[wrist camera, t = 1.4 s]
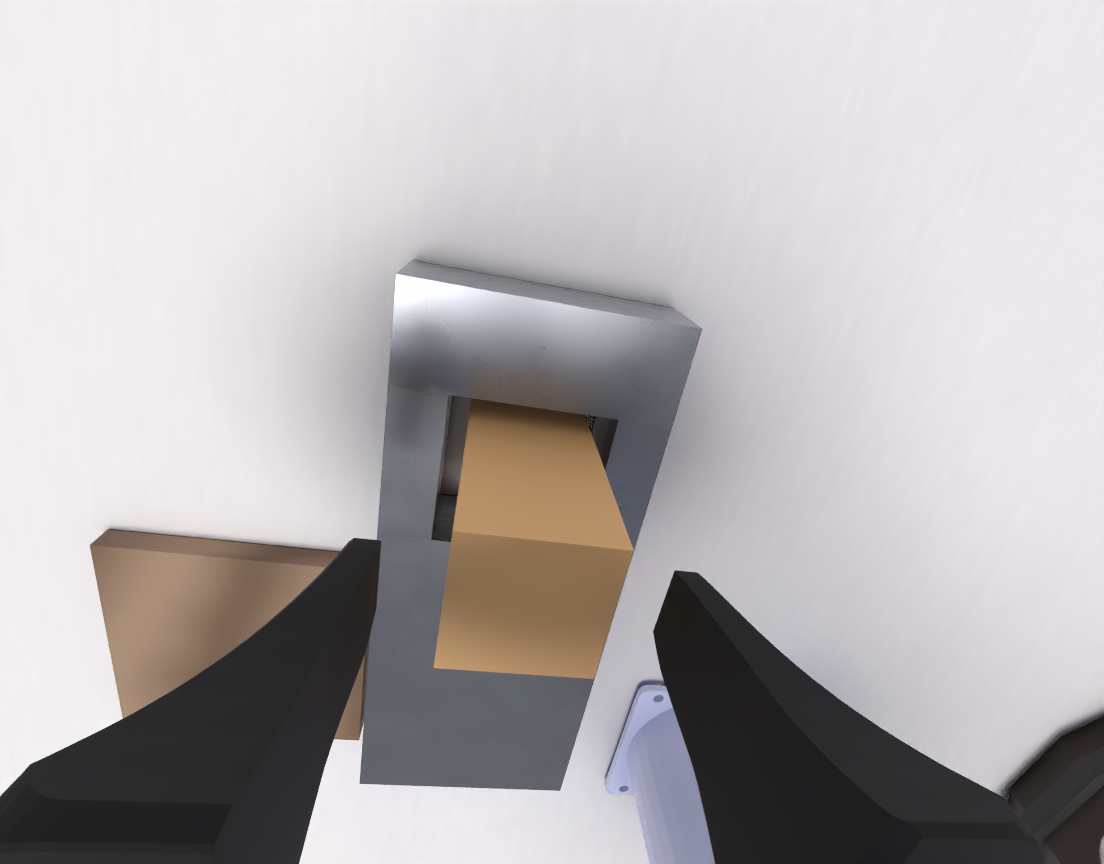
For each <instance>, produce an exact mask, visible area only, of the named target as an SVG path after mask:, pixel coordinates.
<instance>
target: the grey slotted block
mask: <svg viewBox="0 0 1104 864" xmlns="http://www.w3.org/2000/svg"><path fill="white" fill-rule="evenodd" d="M701 331H702V328H700V327H699V326H698V325H696V324H695V323H693V322H692V321H691V320H689V319H688V318H687V317H685V316H684V315H682V314H681V313H680V312H678V311H677V310H675V309H674V308H670V307H665V306H659V305H654V304H649V303H643V302H638V301H632V300H627V299H621V298H616V297H610V296H605V295H599V294H594V293H588V292H583V291H578V290H572V289H567V288H561V287H556V286H550V285H545V284H539V283H534V282H528V281H523V280H518V279H512V278H507V277H501V276H496V275H490V274H485V273H479V272H474V271H468V270H463V269H457V268H452V267H447V266H441V265H436V264H430V263H425V262H419V261H414V260H412V261H411V262H410V263H409V264H408V265H406V266H405V267H404V268H403V269H402V270H400V271H399V272H398V273H397V274H396V281H395V295H394V309H393V323H392V337H391V351H390V365H389V379H388V394H387V408H386V422H385V436H384V450H383V464H382V478H381V492H380V506H379V520H378V534H377V540H379V541H381V554H380V567H379V580H378V594H377V607H376V612H375V617H374V621H373V625H372V629H371V633H370V646H369V660H368V674H367V688H366V702H365V716H364V730H363V744H362V758H361V772H360V784H383V785H412V786H441V787H471V788H500V789H529V790H558V791H560V789H561V786H562V783H563V779H564V776H565V773H566V770H567V766H568V763H569V760H570V757H571V753H572V750H573V747H574V744H575V740H576V737H577V734H578V731H579V727H580V724H581V721H582V718H583V714H584V711H585V708H586V705H587V701H588V698H589V695H590V692H591V688H592V685H593V682H594V679H595V678H594V679H586V678H572V677H557V676H542V675H528V674H513V673H499V672H484V671H469V670H455V669H440V668H434V661H435V654H436V646H437V639H438V632H439V625H440V618H441V610H442V603H443V596H444V589H445V582H446V574H447V567H448V560H449V553H450V546H451V538H452V531H453V524H454V517H455V511H456V504H457V497H458V496H450V495H441V494H440V493H441V485H442V477H443V469H444V461H445V453H446V445H447V436H448V428H449V420H450V412H451V404H452V396H459V397H466V398H473V399H480V400H487V401H494V402H500V403H507V404H514V405H521V406H528V407H535V408H541V409H548V410H555V411H562V412H569V413H575V414H582V415H589V416H596V418H595V422H594V426H593V430H592V436H593V439H594V441H595V444H596V447H597V450H598V453H599V455H600V458H601V461H602V464H603V466H604V469H605V472H606V475H607V478H608V480H609V483H610V486H611V489H612V492H613V494H614V497H615V500H616V503H617V505H618V508H619V511H620V514H621V517H622V519H623V522H624V525H625V528H626V531H627V533H628V536H629V539H630V542H631V544H632V547H633V550H634V549H635V545H636V542H637V539H638V536H639V532H640V529H641V526H642V523H643V519H644V516H645V513H646V510H647V506H648V503H649V500H650V497H651V493H652V490H653V487H654V484H655V480H656V477H657V474H658V471H659V467H660V464H661V461H662V458H663V454H664V451H665V448H666V445H667V441H668V438H669V435H670V432H671V428H672V425H673V422H674V419H675V415H676V412H677V409H678V406H679V402H680V399H681V396H682V393H683V389H684V386H685V383H686V380H687V376H688V373H689V370H690V367H691V363H692V360H693V357H694V354H695V350H696V347H697V344H698V341H699V337H700V334H701ZM633 552H634V551H633ZM632 555H633V554H632ZM630 562H631V561H630ZM629 565H630V564H629ZM628 568H629V567H628ZM626 575H627V574H626ZM625 578H626V577H625ZM624 581H625V580H624ZM622 588H623V587H622ZM621 591H622V590H621ZM620 594H621V593H620ZM618 601H619V600H618ZM617 604H618V603H617ZM616 607H617V606H616ZM614 614H615V613H614ZM613 617H614V616H613ZM612 620H613V619H612ZM610 627H611V626H610ZM609 630H610V629H609ZM608 633H609V632H608ZM606 640H607V639H606ZM605 643H606V642H605ZM604 646H605V645H604ZM602 653H603V652H602ZM601 656H602V655H601ZM600 659H601V658H600ZM598 666H599V665H598ZM597 669H598V668H597ZM596 672H597V671H596Z"/></svg>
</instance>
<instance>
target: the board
mask: <svg viewBox="0 0 1104 864" xmlns="http://www.w3.org/2000/svg"><path fill="white" fill-rule="evenodd" d="M90 548H91V554H92V559H93V564H94V569H95V575H96V580H97V585H98V590H99V595H100V601H101V606H102V611H103V616H104V622H105V627H106V632H107V637H108V643H109V648H110V653H111V658H112V664H113V669H114V674H115V679H116V685H117V690H118V695H119V700H120V706H121V711H122V716H123V718H125V717H127V716H129V715H131V714H133V713H134V712H136V711H138V710H140V709H141V708H143V707H145V706H146V705H148V704H150V703H152V702H153V701H155V700H157V699H159V698H160V697H162V696H164V695H165V694H167V693H169V692H171V691H172V690H174V689H175V688H177V687H179V686H180V685H182V684H183V683H185V682H186V681H188V680H190V679H191V678H193V677H194V676H196V675H197V674H199V673H200V672H202V671H203V670H204V669H206V668H207V667H209V666H210V665H212V664H213V663H215V662H216V661H218V660H219V659H221V658H222V657H223V656H225V655H226V654H228V653H229V652H230V651H232V650H233V649H234V648H236V647H237V646H238V645H240V644H241V643H242V642H244V641H245V640H246V639H248V638H249V637H250V636H251V635H253V634H254V633H255V632H256V631H258V630H259V629H260V628H261V627H263V626H264V625H265V624H266V623H267V622H269V621H270V620H271V619H272V618H273V617H274V616H275V615H277V614H278V613H279V612H280V611H281V610H282V609H283V608H285V607H286V606H287V605H288V604H289V603H290V602H291V601H292V600H294V599H295V598H296V597H297V596H298V595H299V594H300V593H301V592H302V591H303V590H304V589H305V588H306V587H307V586H308V585H309V584H310V583H311V582H312V581H313V580H314V579H315V578H316V577H317V576H318V575H319V574H320V573H321V572H322V571H323V570H324V569H325V568H326V567H327V566H328V565H329V564H330V563H331V562H332V561H333V559H334V558H335V557H336V556H337V555H338V554H339V553H340V552H333V551H322V550H312V549H302V548H292V547H282V546H272V545H261V544H251V543H241V542H231V541H221V540H211V539H200V538H190V537H180V536H170V535H160V534H150V533H140V532H129V531H119V530H109V529H108V530H107V531H106V532H105V533H103V534H102V535H101V536H100V537H99V538H98V539H97V540H95V541H94V542H93V543H92V544H91V545H90ZM369 643H370V637H369V641H368V645H367V649H366V652H365V655H364V658H363V661H362V663H361V666H360V669H359V672H358V674H357V677H356V680H355V683H354V685H353V688H352V691H351V694H350V696H349V699H348V702H347V704H346V707H345V710H344V713H343V715H342V718H341V721H340V723H339V726H338V729H337V732H336V734H335V737H334V739H342V740H359V738H360V734H361V731H362V727H363V723H364V714H365V699H366V685H367V671H368V657H369Z"/></svg>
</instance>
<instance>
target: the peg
mask: <svg viewBox="0 0 1104 864" xmlns="http://www.w3.org/2000/svg"><path fill="white" fill-rule="evenodd" d="M633 551H634V550H633V547H632V544H631V542H630V539H629V536H628V533H627V531H626V528H625V525H624V522H623V519H622V517H621V514H620V511H619V508H618V505H617V503H616V500H615V497H614V494H613V492H612V489H611V486H610V483H609V480H608V478H607V475H606V472H605V469H604V466H603V464H602V461H601V458H600V455H599V453H598V450H597V447H596V444H595V441H594V439H593V436H592V433H591V430H590V427H589V425H588V422H587V419H586V416H585V415H582V414H575V413H569V412H562V411H555V410H548V409H541V408H535V407H528V406H521V405H514V404H507V403H500V402H494V401H487V400H480V399H473V398H472V400H471V407H470V414H469V421H468V428H467V435H466V441H465V448H464V455H463V462H462V469H461V476H460V483H459V490H458V497H457V504H456V511H455V517H454V524H453V531H452V538H451V546H450V553H449V560H448V567H447V574H446V582H445V589H444V596H443V603H442V610H441V618H440V625H439V632H438V639H437V646H436V654H435V661H434V668H440V669H455V670H469V671H484V672H499V673H513V674H528V675H542V676H557V677H572V678H586V679H594V678H595V675H596V671H597V668H598V665H599V662H600V658H601V655H602V652H603V649H604V645H605V642H606V639H607V636H608V632H609V629H610V626H611V623H612V619H613V616H614V613H615V610H616V606H617V603H618V600H619V597H620V593H621V590H622V587H623V584H624V580H625V577H626V574H627V571H628V567H629V564H630V561H631V558H632V554H633Z"/></svg>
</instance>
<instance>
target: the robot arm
mask: <svg viewBox="0 0 1104 864" xmlns="http://www.w3.org/2000/svg"><path fill="white" fill-rule="evenodd" d="M380 554H381V541H379V540H369V539H359V538H354V539H352V540H351V541H349V542H348V543H347V545H346V546H345V547H344V548H343V549H342V550H341V552H340V553H339V554H338V555H337V556H336V557H335V558H334V559H333V561H332V562H331V563H330V564H329V565H328V566H327V567H326V568H325V569H324V570H323V571H322V572H321V573H320V574H319V575H318V576H317V577H316V578H315V579H314V580H313V581H312V582H311V583H310V584H309V585H308V586H307V587H306V588H305V589H304V590H303V591H302V592H301V593H300V594H299V595H298V596H297V597H296V598H295V599H294V600H292V601H291V602H290V603H289V604H288V605H287V606H286V607H285V608H283V609H282V610H281V611H280V612H279V613H278V614H277V615H275V616H274V617H273V618H272V619H271V620H270V621H269V622H267V623H266V624H265V625H264V626H263V627H261V628H260V629H259V630H258V631H256V632H255V633H254V634H253V635H251V636H250V637H249V638H248V639H246V640H245V641H244V642H242V643H241V644H240V645H238V646H237V647H236V648H234V649H233V650H232V651H230V652H229V653H228V654H226V655H225V656H223V657H222V658H221V659H219V660H218V661H216V662H215V663H213V664H212V665H210V666H209V667H207V668H206V669H204V670H203V671H202V672H200V673H199V674H197V675H196V676H194V677H193V678H191V679H190V680H188V681H186V682H185V683H183V684H182V685H180V686H179V687H177V688H175V689H174V690H172V691H171V692H169V693H167V694H165V695H164V696H162V697H160V698H159V699H157V700H155V701H153V702H152V703H150V704H148V705H146V706H145V707H143V708H141V709H140V710H138V711H136V712H134V713H133V714H131V715H129V716H127V717H125V718H123V719H122V720H120V721H118V722H116V723H114V724H112V725H110V726H108V727H106V728H105V729H103V730H101V731H99V732H97V733H94V734H92V735H90V736H88V737H86V738H84V739H82V740H80V741H78V742H76V743H74V744H72V745H70V746H68V747H66V748H64V749H62V750H60V751H58V752H56V753H54V754H52V755H50V756H47V757H45V758H43V759H41V760H39V761H37V762H34V763H32V764H31V765H29V767H28V768H27V769H26V770H25V771H24V772H23V773H22V774H21V775H20V776H19V777H18V778H17V779H16V781H15V782H14V783H13V784H12V785H11V786H10V787H9V788H8V789H7V790H6V791H5V792H4V793H3V794H2V795H1V796H0V864H299V861H300V857H301V853H302V850H303V846H304V842H305V838H306V834H307V830H308V827H309V823H310V819H311V815H312V811H313V808H314V804H315V800H316V797H317V793H318V789H319V785H320V782H321V778H322V774H323V771H324V767H325V764H326V761H327V758H328V755H329V751H330V748H331V745H332V743H333V740H334V737H335V734H336V732H337V729H338V726H339V723H340V721H341V718H342V715H343V713H344V710H345V707H346V704H347V702H348V699H349V696H350V694H351V691H352V688H353V685H354V683H355V680H356V677H357V674H358V672H359V669H360V666H361V663H362V661H363V658H364V655H365V652H366V649H367V645H368V641H369V637H370V633H371V629H372V625H373V621H374V617H375V612H376V607H377V594H378V580H379V567H380ZM653 633H654V638H655V644H656V650H657V655H658V660H659V664H660V669H661V673H662V676H663V679H664V682H665V685H666V686H661V685H644V686H642V687H641V688H639V690H638V691H637V694H636V697H635V699H634V702H633V705H632V708H631V711H630V713H629V716H628V719H627V722H626V725H625V727H624V730H623V733H622V736H621V739H620V741H619V744H618V747H617V750H616V753H615V755H614V758H613V761H612V764H611V767H610V769H609V772H608V775H607V778H606V781H605V787H606V790H607V792H609V793H612V794H635V799H636V803H637V808H638V812H639V817H640V822H641V826H642V831H643V835H644V840H645V845H646V849H647V854H648V858H649V863H650V864H1044V859H1045V856H1044V849H1043V846H1042V845H1041V844H1040V842H1039V841H1038V840H1037V839H1036V837H1035V836H1034V835H1033V834H1032V832H1031V831H1030V830H1029V829H1028V827H1027V826H1026V825H1025V824H1024V822H1023V821H1022V820H1021V819H1020V817H1019V816H1018V815H1017V814H1016V813H1015V811H1014V810H1013V809H1012V808H1011V806H1010V805H1009V804H1008V803H1007V801H1006V800H1005V799H1004V798H1003V797H1002V796H1000V795H998V794H996V793H994V792H992V791H990V790H988V789H987V788H985V787H983V786H981V785H979V784H977V783H975V782H973V781H971V780H969V779H967V778H966V777H964V776H962V775H960V774H958V773H956V772H954V771H952V770H950V769H948V768H947V767H945V766H943V765H941V764H939V763H938V762H936V761H934V760H932V759H931V758H929V757H927V756H926V755H924V754H922V753H921V752H919V751H917V750H915V749H914V748H912V747H910V746H909V745H907V744H905V743H904V742H902V741H900V740H899V739H897V738H896V737H894V736H892V735H891V734H889V733H888V732H886V731H885V730H883V729H881V728H880V727H879V726H877V725H876V724H874V723H873V722H871V721H870V720H868V719H867V718H865V717H864V716H862V715H861V714H859V713H858V712H856V711H855V710H853V709H852V708H851V707H849V706H848V705H846V704H845V703H844V702H842V701H841V700H839V699H838V698H837V697H835V696H834V695H833V694H832V693H830V692H829V691H828V690H826V689H825V688H824V687H822V686H821V685H820V684H819V683H817V682H816V681H815V680H813V679H812V678H811V677H810V676H808V675H807V674H806V673H805V672H803V671H802V670H801V669H800V668H799V667H797V666H796V665H795V664H794V663H793V662H792V661H791V660H789V659H788V658H787V657H786V656H785V655H784V654H783V653H781V652H780V651H779V650H778V649H777V648H776V647H775V646H774V645H772V644H771V643H770V642H769V641H768V640H767V639H766V638H765V637H764V636H763V635H762V634H761V633H760V632H758V631H757V630H756V629H755V628H754V627H753V626H752V625H751V624H750V623H749V622H748V621H747V620H746V619H745V618H744V617H743V616H742V615H741V614H740V613H739V612H738V611H737V610H736V609H735V608H734V607H733V606H732V605H731V604H730V603H729V602H728V601H727V600H726V599H725V598H724V597H723V596H722V595H721V594H720V593H719V592H718V591H717V590H716V589H714V588H713V587H712V586H711V585H710V584H709V583H708V582H707V581H706V580H705V579H704V578H703V577H702V576H701V575H699V574H698V573H695V572H685V571H674V574H673V577H672V580H671V583H670V586H669V588H668V591H667V594H666V597H665V600H664V602H663V605H662V608H661V611H660V614H659V617H658V619H657V622H656V625H655V628H654V631H653Z"/></svg>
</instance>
